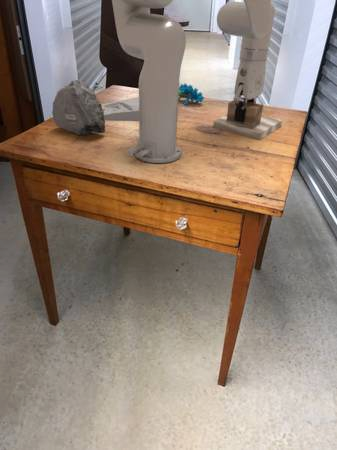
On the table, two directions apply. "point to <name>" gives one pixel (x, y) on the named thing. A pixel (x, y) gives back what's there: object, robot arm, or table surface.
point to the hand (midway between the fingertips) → (243, 118)
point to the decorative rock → (78, 109)
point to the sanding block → (251, 114)
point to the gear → (189, 93)
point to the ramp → (122, 110)
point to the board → (258, 132)
